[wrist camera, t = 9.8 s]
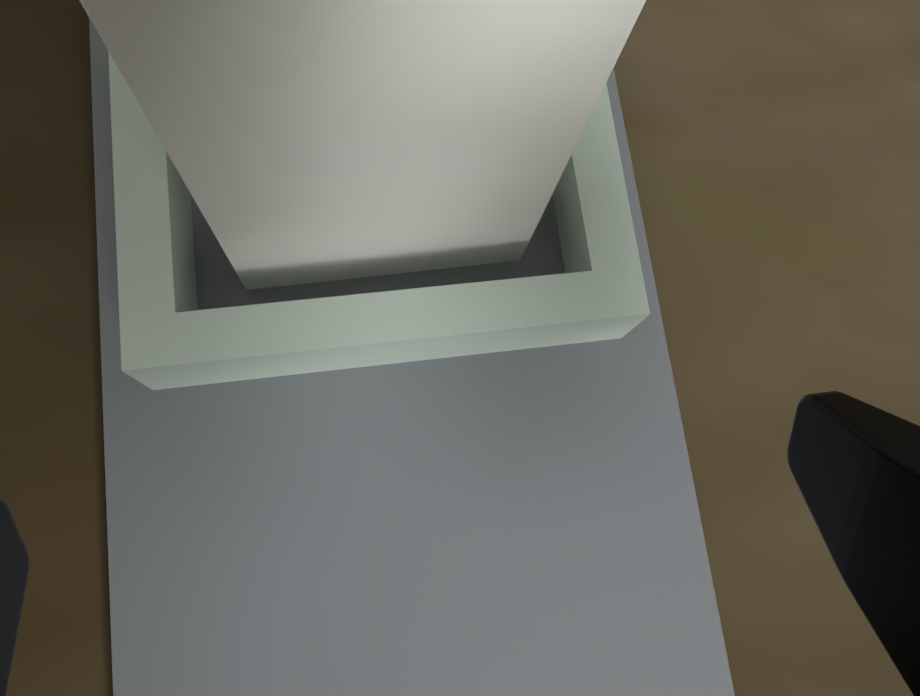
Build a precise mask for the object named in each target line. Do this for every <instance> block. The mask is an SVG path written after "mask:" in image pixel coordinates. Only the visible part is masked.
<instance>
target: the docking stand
mask: <svg viewBox="0 0 920 696" xmlns="http://www.w3.org/2000/svg"><path fill="white" fill-rule="evenodd" d="M89 33H90V61H91V89H92V117H93V145H94V173H95V201H96V229H97V256H98V284H99V312H100V340H101V368H102V396H103V424H104V452H105V480H106V508H107V536H108V564H109V592H110V620H111V648H112V676H113V696H735V695H734V690H733V684H732V679H731V674H730V669H729V664H728V658H727V653H726V648H725V643H724V638H723V633H722V627H721V622H720V617H719V612H718V607H717V602H716V596H715V591H714V586H713V581H712V576H711V570H710V565H709V560H708V555H707V550H706V545H705V539H704V534H703V529H702V524H701V519H700V513H699V508H698V503H697V498H696V493H695V488H694V482H693V477H692V472H691V467H690V462H689V457H688V451H687V446H686V441H685V436H684V431H683V425H682V420H681V415H680V410H679V405H678V400H677V394H676V389H675V384H674V379H673V374H672V368H671V363H670V358H669V353H668V348H667V343H666V337H665V332H664V327H663V322H662V317H661V312H660V306H659V301H658V296H657V291H656V286H655V280H654V275H653V270H652V265H651V260H650V255H649V249H648V244H647V239H646V234H645V229H644V223H643V218H642V213H641V208H640V203H639V198H638V192H637V187H636V182H635V177H634V172H633V167H632V161H631V156H630V151H629V146H628V141H627V135H626V130H625V125H624V120H623V115H622V110H621V104H620V99H619V94H618V89H617V84H616V78H615V73H614V68H613V70H612V72H611V74H610V76H609V78H608V80H607V82H606V84H605V86H604V88H603V90H602V92H601V94H600V97H599V99H598V101H597V103H596V105H595V107H594V109H593V111H592V113H591V115H590V117H589V119H588V121H587V123H586V126H585V128H584V130H583V132H582V134H581V136H580V138H579V140H578V142H577V144H576V146H575V148H574V150H573V152H572V154H571V157H570V159H569V161H568V163H567V165H566V167H565V169H564V171H563V173H562V175H561V177H560V179H559V181H558V183H557V185H556V188H555V190H554V192H553V194H552V196H551V198H550V200H549V202H548V204H547V206H546V208H545V210H544V212H543V214H542V217H541V219H540V221H539V223H538V225H537V227H536V229H535V231H534V233H533V235H532V237H531V239H530V241H529V243H528V245H527V248H526V250H525V252H524V254H523V256H522V258H521V260H520V261H511V262H502V263H493V264H483V265H474V266H465V267H455V268H446V269H437V270H427V271H418V272H409V273H400V274H390V275H381V276H372V277H362V278H353V279H344V280H334V281H325V282H316V283H306V284H297V285H288V286H278V287H269V288H260V289H251V290H246V289H245V287H244V285H243V283H242V282H241V280H240V278H239V276H238V275H237V273H236V271H235V270H234V268H233V266H232V264H231V263H230V261H229V259H228V257H227V256H226V254H225V252H224V250H223V249H222V247H221V245H220V243H219V242H218V240H217V238H216V237H215V235H214V233H213V231H212V230H211V228H210V226H209V224H208V223H207V221H206V219H205V217H204V216H203V214H202V212H201V211H200V209H199V207H198V205H197V204H196V202H195V200H194V198H193V197H192V195H191V193H190V191H189V190H188V188H187V186H186V185H185V183H184V181H183V179H182V178H181V176H180V174H179V172H178V171H177V169H176V167H175V165H174V164H173V162H172V160H171V159H170V157H169V155H168V153H167V152H166V150H165V148H164V146H163V145H162V143H161V141H160V139H159V138H158V136H157V134H156V133H155V131H154V129H153V127H152V126H151V124H150V122H149V120H148V119H147V117H146V115H145V113H144V112H143V110H142V108H141V107H140V105H139V103H138V101H137V100H136V98H135V96H134V94H133V93H132V91H131V89H130V87H129V86H128V84H127V82H126V81H125V79H124V77H123V75H122V74H121V72H120V70H119V68H118V67H117V65H116V63H115V61H114V60H113V58H112V56H111V54H110V53H109V51H108V49H107V48H106V46H105V44H104V42H103V41H102V39H101V37H100V35H99V34H98V32H97V30H96V28H95V27H94V25H93V23H92V22H91V20H90V18H89Z"/></svg>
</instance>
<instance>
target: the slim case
mask: <svg viewBox="0 0 920 696" xmlns="http://www.w3.org/2000/svg"><path fill="white" fill-rule="evenodd" d="M79 1H80V2H81V4H82V6H83V8H84V9H85V11H86V13H87V15H88V16H89V18H90V20H91V22H92V23H93V25H94V27H95V28H96V30H97V32H98V34H99V35H100V37H101V39H102V41H103V42H104V44H105V46H106V48H107V49H108V51H109V53H110V54H111V56H112V58H113V60H114V61H115V63H116V65H117V67H118V68H119V70H120V72H121V74H122V75H123V77H124V79H125V81H126V82H127V84H128V86H129V87H130V89H131V91H132V93H133V94H134V96H135V98H136V100H137V101H138V103H139V105H140V107H141V108H142V110H143V112H144V113H145V115H146V117H147V119H148V120H149V122H150V124H151V126H152V127H153V129H154V131H155V133H156V134H157V136H158V138H159V139H160V141H161V143H162V145H163V146H164V148H165V150H166V152H167V153H168V155H169V157H170V159H171V160H172V162H173V164H174V165H175V167H176V169H177V171H178V172H179V174H180V176H181V178H182V179H183V181H184V183H185V185H186V186H187V188H188V190H189V191H190V193H191V195H192V197H193V198H194V200H195V202H196V204H197V205H198V207H199V209H200V211H201V212H202V214H203V216H204V217H205V219H206V221H207V223H208V224H209V226H210V228H211V230H212V231H213V233H214V235H215V237H216V238H217V240H218V242H219V243H220V245H221V247H222V249H223V250H224V252H225V254H226V256H227V257H228V259H229V261H230V263H231V264H232V266H233V268H234V270H235V271H236V273H237V275H238V276H239V278H240V280H241V282H242V283H243V285H244V287H245V289H246V290H251V289H260V288H269V287H278V286H288V285H297V284H306V283H316V282H325V281H334V280H344V279H353V278H362V277H372V276H381V275H390V274H400V273H409V272H418V271H427V270H437V269H446V268H455V267H465V266H474V265H483V264H493V263H502V262H511V261H520V260H521V258H522V256H523V254H524V252H525V250H526V248H527V245H528V243H529V241H530V239H531V237H532V235H533V233H534V231H535V229H536V227H537V225H538V223H539V221H540V219H541V217H542V214H543V212H544V210H545V208H546V206H547V204H548V202H549V200H550V198H551V196H552V194H553V192H554V190H555V188H556V185H557V183H558V181H559V179H560V177H561V175H562V173H563V171H564V169H565V167H566V165H567V163H568V161H569V159H570V157H571V154H572V152H573V150H574V148H575V146H576V144H577V142H578V140H579V138H580V136H581V134H582V132H583V130H584V128H585V126H586V123H587V121H588V119H589V117H590V115H591V113H592V111H593V109H594V107H595V105H596V103H597V101H598V99H599V97H600V94H601V92H602V90H603V88H604V86H605V84H606V82H607V80H608V78H609V76H610V74H611V72H612V70H613V68H614V66H615V63H616V61H617V59H618V57H619V55H620V53H621V51H622V49H623V47H624V45H625V43H626V41H627V39H628V37H629V35H630V32H631V30H632V28H633V26H634V24H635V22H636V20H637V18H638V16H639V14H640V12H641V10H642V8H643V6H644V4H645V1H646V0H79Z"/></svg>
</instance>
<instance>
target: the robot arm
mask: <svg viewBox="0 0 920 696" xmlns="http://www.w3.org/2000/svg"><path fill="white" fill-rule="evenodd" d="M788 463H789V466H790V469H791V472H792V474H793V476H794V478H795V480H796V482H797V484H798V486H799V489H800V491H801V493H802V495H803V497H804V499H805V501H806V503H807V505H808V508H809V510H810V512H811V514H812V516H813V518H814V520H815V522H816V524H817V527H818V529H819V531H820V533H821V535H822V537H823V539H824V541H825V544H826V546H827V548H828V550H829V552H830V554H831V556H832V558H833V560H834V562H835V564H836V566H837V568H838V570H839V572H840V574H841V576H842V578H843V580H844V581H845V583H846V585H847V586H848V588H849V590H850V592H851V593H852V595H853V597H854V598H855V600H856V602H857V603H858V605H859V607H860V608H861V610H862V612H863V613H864V615H865V616H866V618H867V620H868V621H869V623H870V625H871V626H872V628H873V630H874V631H875V633H876V635H877V636H878V638H879V639H880V641H881V643H882V644H883V646H884V648H885V649H886V651H887V653H888V654H889V656H890V657H891V659H892V661H893V662H894V664H895V666H896V667H897V669H898V671H899V672H900V674H901V675H902V677H903V679H904V680H905V682H906V684H907V685H908V687H909V689H910V690H911V692H912V693H913V695H914V696H920V426H918V425H916V424H913V423H911V422H909V421H907V420H904V419H902V418H900V417H897V416H895V415H893V414H890V413H888V412H886V411H883V410H881V409H879V408H876V407H874V406H872V405H869V404H867V403H865V402H862V401H860V400H858V399H855V398H853V397H851V396H848V395H846V394H844V393H841V392H837V391H831V392H823V393H815V394H808V395H806V396H804V397H803V398H802V399H801V400H800V402H799V404H798V407H797V411H796V415H795V419H794V424H793V428H792V432H791V436H790V441H789V445H788ZM28 573H29V557H28V552H27V549H26V546H25V544H24V542H23V540H22V537H21V535H20V533H19V531H18V528H17V526H16V524H15V521H14V519H13V517H12V515H11V512H10V510H9V508H8V506H7V504H6V503H5V501H4V500H3V499H2V498H0V696H6V692H7V687H8V682H9V677H10V671H11V666H12V660H13V655H14V649H15V644H16V639H17V633H18V628H19V622H20V617H21V611H22V606H23V600H24V595H25V589H26V584H27V579H28Z"/></svg>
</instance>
